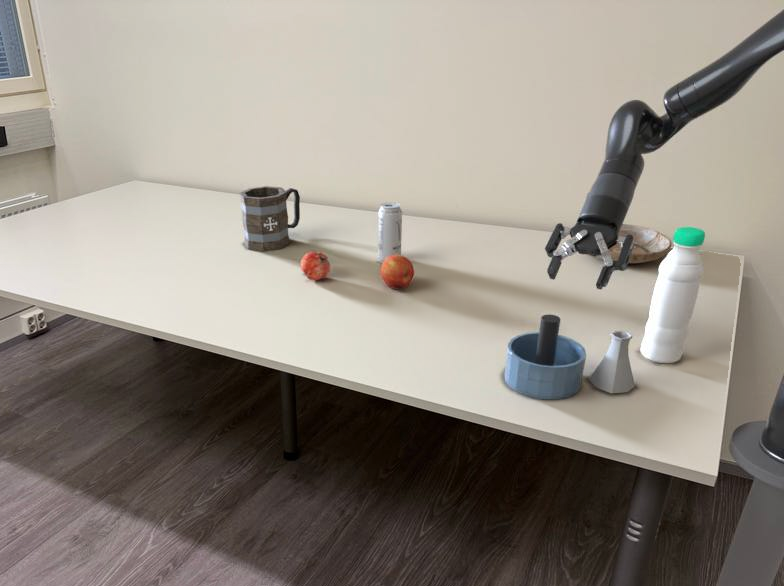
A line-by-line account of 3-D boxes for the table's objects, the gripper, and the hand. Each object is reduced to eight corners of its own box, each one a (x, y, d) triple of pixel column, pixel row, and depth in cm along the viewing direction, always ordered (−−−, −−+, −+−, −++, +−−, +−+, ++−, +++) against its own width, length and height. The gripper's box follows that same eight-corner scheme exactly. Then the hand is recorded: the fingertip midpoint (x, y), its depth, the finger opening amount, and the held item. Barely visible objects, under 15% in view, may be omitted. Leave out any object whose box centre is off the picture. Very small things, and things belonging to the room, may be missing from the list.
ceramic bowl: (582, 272, 165) (586, 253, 163) (562, 240, 186) (564, 223, 183) (682, 271, 162) (686, 252, 160) (649, 239, 183) (653, 222, 180)
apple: (406, 278, 167) (407, 248, 163) (419, 291, 160) (420, 260, 156) (376, 283, 165) (376, 252, 161) (387, 296, 158) (388, 264, 154)
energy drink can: (398, 265, 175) (399, 209, 168) (376, 263, 177) (376, 208, 170) (402, 257, 180) (404, 202, 173) (380, 255, 182) (381, 201, 175)
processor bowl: (594, 380, 121) (600, 348, 118) (553, 408, 114) (559, 375, 111) (531, 355, 130) (535, 325, 127) (489, 379, 123) (492, 349, 120)
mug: (262, 254, 187) (258, 201, 180) (234, 243, 196) (229, 193, 189) (315, 237, 198) (312, 187, 191) (286, 227, 207) (283, 179, 200)
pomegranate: (297, 288, 171) (314, 274, 162) (290, 261, 172) (306, 246, 163) (322, 284, 174) (340, 271, 165) (315, 258, 175) (332, 243, 166)
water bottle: (670, 368, 123) (703, 239, 111) (633, 356, 128) (660, 230, 116) (687, 355, 127) (720, 229, 115) (649, 343, 132) (678, 220, 120)
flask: (580, 379, 122) (589, 330, 117) (611, 370, 124) (621, 321, 119) (611, 398, 116) (622, 347, 111) (642, 388, 118) (654, 338, 113)
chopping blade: (575, 377, 121) (586, 318, 115) (549, 394, 117) (559, 333, 111) (535, 361, 127) (543, 303, 121) (508, 377, 122) (515, 318, 116)
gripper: (649, 220, 121) (617, 299, 119) (571, 209, 130) (540, 282, 128) (646, 199, 115) (612, 282, 113) (565, 188, 123) (532, 265, 122)
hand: (574, 282), depth 120 cm, fingers open, 8 cm apart
